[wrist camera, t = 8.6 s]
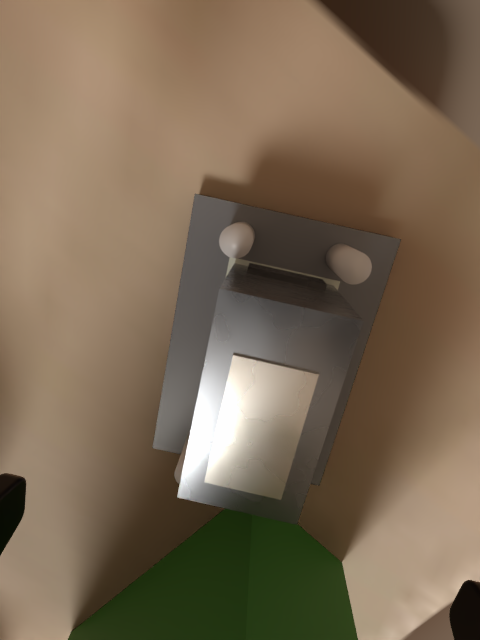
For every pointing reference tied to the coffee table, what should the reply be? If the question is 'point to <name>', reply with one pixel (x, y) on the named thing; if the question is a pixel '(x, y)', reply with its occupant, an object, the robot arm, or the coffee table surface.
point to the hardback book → (233, 589)
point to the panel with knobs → (271, 251)
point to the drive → (267, 391)
